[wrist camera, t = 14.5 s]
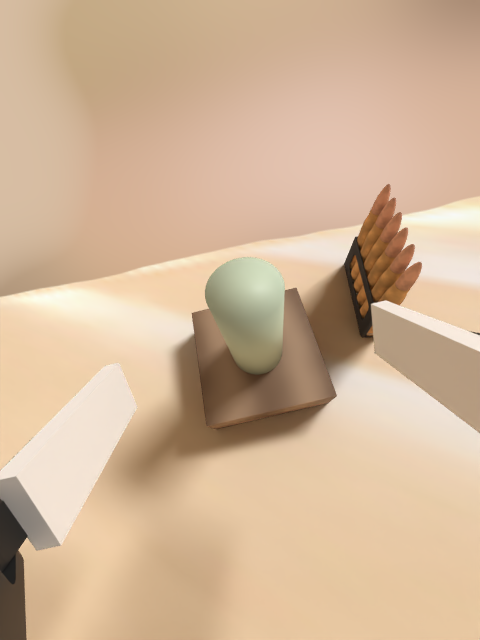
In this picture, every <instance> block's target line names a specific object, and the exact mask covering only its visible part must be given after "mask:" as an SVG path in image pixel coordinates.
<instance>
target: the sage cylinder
mask: <svg viewBox="0 0 480 640" xmlns="http://www.w3.org/2000/svg"><path fill="white" fill-rule="evenodd" d="M284 293H285V285H284V280H283V277H282V275H281V274H280V272H279V271H278V270H277V268H276V267H274V266H273V265H272V264H270V263H269V262H267V261H265V260H262V259H258V258H252V257H244V258H238V259H234V260H231V261H229V262H226V263H225V264H223V265H221V266H220V267H219V268H218V269H216V270H215V271H214V273H213V274H212V275H211V276H210V278H209V280H208V282H207V285H206V289H205V299H206V303H207V305H208V307H209V309H210V311H211V313H212V315H213V317H214V320H215V322H216V324H217V326H218V328H219V330H220V332H221V334H222V336H223V338H224V340H225V342H226V344H227V346H228V348H229V350H230V352H231V354H232V357H233V359H234V361H235V363H236V364H237V365H238V367H239V368H240V369H242V370H243V371H245V372H247V373H249V374H255V375H259V374H264V373H267V372H269V371H271V370H273V369H274V368H275V367H276V366H277V365H278V363H279V361H280V359H281V357H282V345H283V319H284Z"/></svg>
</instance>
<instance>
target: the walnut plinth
mask: <svg viewBox="0 0 480 640" xmlns="http://www.w3.org/2000/svg"><path fill="white" fill-rule="evenodd" d="M192 318H193V326H194V333H195V341H196V349H197V356H198V364H199V371H200V379H201V386H202V394H203V402H204V409H205V417H206V424H207V426H208V427H211V428H214V429H219V428H223V427H227V426H232V425H236V424H240V423H244V422H249V421H253V420H257V419H261V418H266V417H270V416H274V415H279V414H283V413H287V412H291V411H296V410H300V409H304V408H308V407H313V406H317V405H321V404H326V403H329V402H330V401H331V400H332V399H334V398H335V397H336V396H337V395H336V392H335V389H334V387H333V384H332V381H331V379H330V376H329V373H328V371H327V368H326V365H325V363H324V360H323V357H322V355H321V352H320V350H319V347H318V344H317V342H316V339H315V336H314V334H313V331H312V328H311V326H310V323H309V320H308V318H307V315H306V312H305V310H304V307H303V304H302V302H301V299H300V296H299V294H298V291H297V288H293V289H289V290H285V293H284V319H283V345H282V357H281V359H280V361H279V363H278V365H277V366H276V367H275V368H274V369H273V370H271V371H269V372H267V373H264V374H259V375H255V374H249V373H247V372H245V371H243V370H242V369H240V368H239V367H238V365H237V364H236V363H235V361H234V359H233V357H232V354H231V352H230V350H229V348H228V346H227V344H226V342H225V340H224V338H223V336H222V334H221V332H220V330H219V328H218V326H217V324H216V322H215V320H214V317H213V315H212V313H211V311H210V309H206V310H202V311H198V312H194V313H192Z"/></svg>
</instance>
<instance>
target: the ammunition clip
mask: <svg viewBox="0 0 480 640" xmlns="http://www.w3.org/2000/svg"><path fill="white" fill-rule="evenodd" d="M390 189H391V188H390V184H388V185H386V186H385V187H384V189H383V190H382V191H381V192H380V194H379V195H378V197H377V199H376V200H375V202H374V204H373V207H372V209H371V211H370V213H369V215H368V217H367V218H366V220H365V221H364V223H363V226H362V228H361V231H360V233H359V236H358V237H355V239H354V241H353V244H352V246H351V249H350V251H349V253H348V256H347V258H346V261H345V263H344V265H345V270H346V274H347V278H348V283H349V287H350V291H351V296H352V300H353V304H354V309H355V313H356V317H357V322H358V326H359V330H360V335H361V337H373V325H372V313H371V304H373V303H377V302H381V301H385V300H386V301H389V302H392V303H394V304H397V305H400V304H401V303H402V302H403V300H404V299H405V297H406V295H407V293H408V291H409V290H410V288H411V287H412V285H413V284H414V283H415V281H416V280H417V278H418V276H419V274H420V272H421V268H422V263H421V262H418V263H415V264H413V265H412V266H411V267H409V268H408V269H407V270H405V269H406V268H407V266H408V265H409V263H410V261H411V259H412V257H413V254H414V249H415V246H414V244H411V245H409V246H407V247H406V248H405V249H403V247H404V245H405V242H406V239H407V235H408V228H404V229H402V230H401V231H399V232H398V230H399V228H400V224H401V220H402V213H401V212H399V213H397V214H396V215H395V216H394V217H393V214H394V211H395V206H396V198H392V199H391V200H390V201H389V202H388V200H389V196H390ZM392 217H393V218H392ZM402 249H403V250H402ZM401 250H402V251H401Z"/></svg>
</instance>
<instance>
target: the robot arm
mask: <svg viewBox="0 0 480 640" xmlns="http://www.w3.org/2000/svg"><path fill="white" fill-rule="evenodd" d="M371 313H372V325H373V338H374V351H375V354H377V355H378V356H379V357H381V358H382V359H383V360H385V361H386V362H387V363H389V364H390V365H391V366H392V367H394V368H395V369H396V370H398V371H399V372H400V373H402V374H403V375H404V376H406V377H407V378H408V379H409V380H411V381H412V382H413V383H415V384H416V385H417V386H419V387H420V388H421V389H423V390H424V391H425V392H427V393H428V394H429V395H430V396H432V397H433V398H434V399H436V400H437V401H438V402H440V403H441V404H442V405H444V406H445V407H446V408H448V409H449V410H450V411H451V412H453V413H454V414H455V415H457V416H458V417H459V418H461V419H462V420H463V421H465V422H466V423H467V424H469V425H470V426H471V427H472V428H474V429H475V430H476V431H478V432H479V433H480V333H475V332H470V331H467V330H464V329H461V328H458V327H456V326H453V325H450V324H448V323H445V322H442V321H440V320H437V319H434V318H432V317H429V316H426V315H424V314H421V313H418V312H416V311H413V310H410V309H408V308H405V307H402V306H400V305H397V304H394V303H392V302H389V301H386V300H385V301H381V302H377V303H373V304H371ZM136 409H137V405H136V402H135V400H134V398H133V395H132V393H131V390H130V388H129V386H128V383H127V381H126V378H125V376H124V374H123V371H122V369H121V366H120V364H119V363H115V364H111V365H107V366H104V367H103V368H102V369H101V370H100V371H99V372H98V373H97V374H96V375H95V376H94V377H93V378H92V379H91V380H90V381H89V382H88V383H87V384H86V385H85V386H84V387H83V388H82V389H81V390H80V391H79V392H78V393H77V394H76V395H75V396H74V397H73V398H72V399H71V400H70V401H69V402H68V403H67V404H66V405H65V406H64V407H63V408H62V409H61V410H60V411H59V412H58V413H57V414H56V415H55V416H54V417H53V418H52V419H51V420H50V421H49V422H48V423H47V424H46V425H45V426H44V427H43V428H42V429H41V430H40V431H39V432H38V433H37V434H36V435H35V436H34V437H33V438H32V439H31V440H30V441H29V442H28V443H27V444H26V445H25V446H24V447H23V448H22V449H21V450H20V451H19V452H18V453H17V454H16V455H15V456H14V457H13V458H12V459H11V460H10V461H9V462H8V463H7V464H6V465H5V466H4V467H3V468H2V469H1V470H0V640H26V616H25V588H24V560H23V558H22V555H21V554H20V552H19V551H18V549H19V548H20V546H21V545H22V544H23V542H24V541H25V539H26V538H28V539H29V540H30V542H31V543H32V545H33V546H34V548H35V549H36V550H42V549H47V548H51V547H56V546H61V545H62V543H63V541H64V539H65V537H66V536H67V534H68V532H69V530H70V528H71V527H72V525H73V523H74V521H75V519H76V518H77V516H78V514H79V512H80V510H81V508H82V507H83V505H84V503H85V501H86V499H87V498H88V496H89V494H90V492H91V490H92V488H93V487H94V485H95V483H96V481H97V479H98V478H99V476H100V474H101V472H102V470H103V469H104V467H105V465H106V463H107V461H108V459H109V458H110V456H111V454H112V452H113V450H114V449H115V447H116V445H117V443H118V441H119V440H120V438H121V436H122V434H123V432H124V430H125V429H126V427H127V425H128V423H129V421H130V420H131V418H132V416H133V414H134V412H135V410H136Z"/></svg>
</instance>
